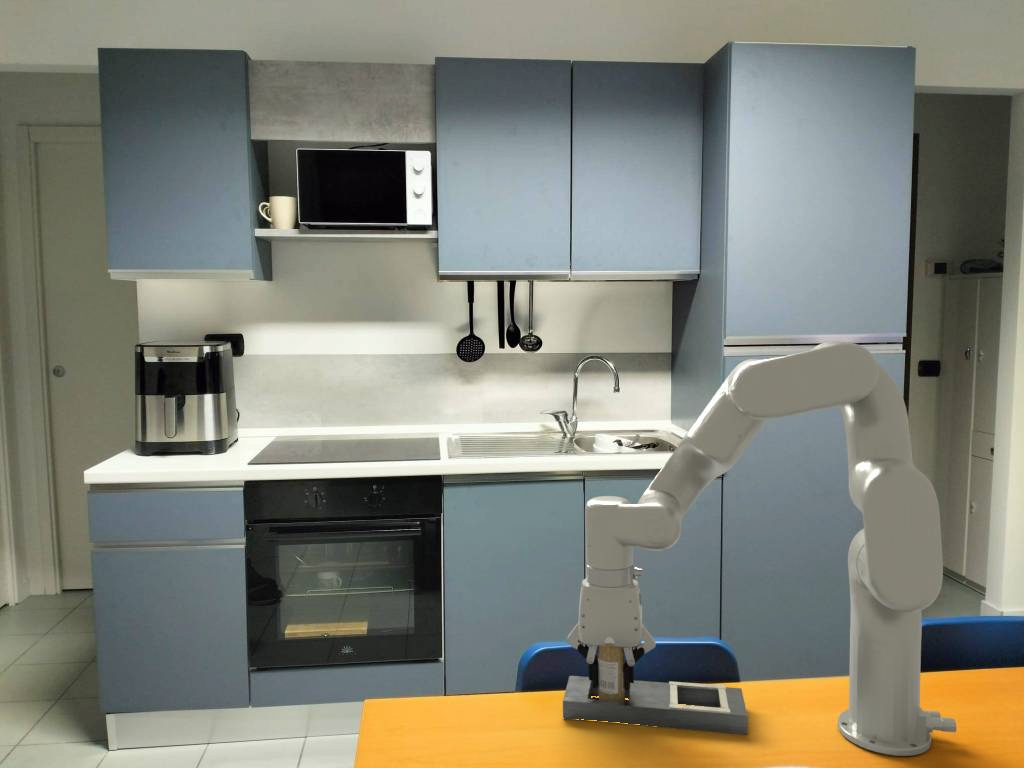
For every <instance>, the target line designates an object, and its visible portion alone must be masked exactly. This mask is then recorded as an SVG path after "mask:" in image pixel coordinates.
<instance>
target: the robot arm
mask: <svg viewBox="0 0 1024 768" xmlns="http://www.w3.org/2000/svg"><path fill="white" fill-rule="evenodd" d="M836 407H838V409H839V410H840V412H841V414H842V418H843V423H844V430H845V438H846V449H847V450H846V451H847V464H848V465H847V467H848V492H849V496H850V499H851V501H852V502H853V504H854V506H855V507H856V508H857V509H858V510H859V511H860V512H861V514H862V520H863V523H862V524H863V528H861V529H860V530H859V531H858V532H857V533H856V534H855V536H854V537H853V538H852V540H851V542H850V545H849V548H848V552H847V553H848V554H847V572H848V582H849V597H850V599H849V600H850V601H849V602H850V623H849V625H850V626H849V678H848V679H849V682H848V683H849V684H848V685H849V687H848V689H849V693H848V709H845V710H844V711H841V713H840V714H839V715H838V718H837V728H838V731H839V732H840V734H841V735H842V736H843V737H844V738H845V739H847V740H848V741H849V742H851V743H853V744H855V745H857V746H858V747H861V748H863V749H865V750H868V751H871V752H875V753H876V754H877V753H879V754H882V755H889V756H895V757H896V756H897V757H907V756H908V757H910V756H916V755H917V756H918V755H920V754H923V753H925V752H927V751H928V750H929V749H930V747H931V746H932V735H931V734H932V733H933V732H934V731H940V732H946V733H956V732H957V723H956V720H955V718H953V717H941V713H940V711H937V710H923V708H922V707H921V706H920V705H921V664H922V662H921V661H922V660H921V659H922V658H921V657H922V653H921V652H922V635H923V633H922V629H923V628H922V627H923V626H922V625H923V623H922V611H923V610H924V609H927V608H928V607H929V606H930V605H932V604H933V603H934V602H935V600H937V598H938V596H939V594H940V592H941V589H942V585H943V580H944V579H943V578H944V575H943V574H944V564H943V563H944V562H943V544H942V532H941V528H942V527H941V515H940V514H941V513H940V506H939V505H940V504H939V500H938V496H937V492H936V491H935V488H934V486H933V484H932V483H931V481H930V479H929V478H928V477H927V476H926V475H925V474H924V473H923V472H922V471H920V470H919V469H918V468H916V467H915V465H914V461H913V451H912V440H911V434H910V425H909V417H908V411H907V406H906V403H905V400H904V398H903V395H902V392H901V389H900V388H899V387H898V385H897V383H896V381H895V380H894V379H893V377H892V376H891V375H890V373H888V371H887V370H886V369H885V368H884V367H883V366H882V365H881V364H879V363H878V361H877V360H876V358H875V357H874V355H873V354H872V353H871V352H870V351H869V350H868V349H867V348H865V347H864V346H862V345H859V344H858V343H854V342H850V341H849V342H848V341H847V342H846V341H840V340H839V341H837V340H836V341H833V340H832V341H825V342H822V343H820V344H819V343H818V345H817V344H816V346H814V347H813V348H812V349H810V350H805V351H801V352H797V353H794V354H793V353H791V354H788V355H784V356H783V355H782V356H778V357H772V358H767V359H762V358H761V359H760V358H750V359H746V360H743V361H742V362H739V364H738V365H736V366H735V367H734V368H733V369H732V371H731V372H730V373H729V374H728V376H727V377H726V378H725V380H724V381H723V383H722V384H721V386H719V388H718V389H717V391H716V392H715V393H714V395H713V396H712V398H711V399H710V400H709V401H708V403H707V405H706V406H705V407H704V409H703V410H702V412H701V413H700V414H699V416H698V417H697V419H696V420H695V421H694V423H693V424H692V425H691V427H690V428H689V430H687V431H686V434H685V435H684V436H683V437H682V439H681V441H680V442H679V444H678V445H677V447H676V448H675V450H674V452H673V453H672V454H671V455H670V457H669V458H668V459H667V461H666V462H665V464H664V465H663V466H662V467H661V469H660V471H659V472H658V473H657V474H656V475H655V477H654V479H653V480H652V481H651V482H650V484H649V485H648V486H647V488H646V489H645V491H644V492H643V494H642V495H641V497H640V498H639V500H638V502H637V503H636V504H635V503H634V504H633V503H632V504H631V502H630V501H629V499H626V498H624V497H621V496H615V495H602V496H595V497H593V498H590V499H589V500H588V501H587V502H586V504H585V507H584V522H585V523H584V524H585V525H584V526H585V527H584V530H585V533H584V534H585V536H584V538H585V578H584V579H582V581H581V588H580V593H579V595H580V596H579V605H578V607H579V608H578V621H577V623H576V625H575V626H574V627H573V629H572V630H571V631H570V632H569V634H568V636H567V638H566V643H567V644H568V645H570V646H571V647H573V649H576V650H577V652H578V653H580V655H581V656H582V657H583V658H584V659H585V660H586V662H587V664H588V677H589V680H591V681H593V688H596V687H597V688H598V659H597V657H598V654H596V653H597V650H598V646H605V645H606V644H608V643H604V642H605V640H606V638H607V637H611V638H612V639H613V640H614V642H615V643H612V644H613V645H614V646H615V647H622V648H624V657H625V659H624V685H625V689H626V690H629V686H630V683H634V680H635V668H634V667H635V665H636V663H637V662H639V660H641V658H643V656H644V655H645V654H647V653H649V652H650V651H652V650H653V649H655V648H656V647H657V646H656V640H655V638H654V637H653V636H652V634H651V633H650V632H649V630H648V629H647V628H646V626H645V625H644V621H643V606H642V595H641V589H640V586H639V582H638V581H637V580H636V578H643V568H640V567H639V568H638V567H636V565H634V548H639V549H641V550H642V549H643V550H649V551H656V552H657V551H660V552H661V551H664V550H667V549H670V548H672V547H674V545H675V544H677V543H678V541H679V539H680V537H681V534H682V528H683V527H682V519H684V516H685V515H686V513H687V512H688V511H689V509H691V507H692V506H693V504H694V503H695V501H696V500H697V499H698V498H699V496H700V495H701V493H702V492H703V491H704V490H705V489H706V487H708V485H710V483H711V482H713V481H714V480H715V479H716V478H717V477H718V478H719V477H720V476H721V475H724V474H725V473H727V472H728V471H729V470H730V469H731V468H732V467H733V466H734V465H735V464H736V463H737V461H739V459H740V457H741V456H742V455H743V454H744V453H745V451H746V449H747V447H748V446H749V445H750V443H751V442H752V441H753V440H754V438H755V437H756V435H758V433H759V432H760V430H761V429H762V428H763V426H764V425H765V424H766V423H767V421H768V420H774V419H780V418H787V417H792V416H798V415H803V414H807V413H811V412H812V413H813V412H816V411H817V412H818V411H821V410H826V409H832V408H836ZM642 641H643V643H642Z"/></svg>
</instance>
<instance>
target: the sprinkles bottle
mask: <svg viewBox="0 0 1024 768" xmlns="http://www.w3.org/2000/svg"><path fill="white" fill-rule="evenodd" d="M604 643H608V644H606V645H605V646H597V659H598V688H599V699H598V700H608V701H620V702H626V701H625V685H624V664H625V652H624V648H622V647H615V646H614V645H613V644H612V643H615V642H614V640H613V639H612V638H611V637H607V638H606V640H605V642H604Z"/></svg>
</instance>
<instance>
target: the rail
mask: <svg viewBox="0 0 1024 768" xmlns="http://www.w3.org/2000/svg"><path fill="white" fill-rule="evenodd" d="M563 695H564V696H563V698H562V699H563V700H562V719H563V718H564V719H563V720H567V719H579V720H581V719H584V720H597V721H608V722H620V723H628V724H640V725H648V726H647V727H649V726H657V727H656V728H661V727H668V728H667V729H673V728H676V730H684V731H685V730H687V731H699V732H709V733H710V732H711V733H722V734H735V735H743V736H744V735H746V736H748V712H747V708H746V702H745V699H744V693H743V690H742V688H741V687H740V688H739V687H730V686H726V685H724V684H723V685H722V684H711V683H696V682H681V681H668V682H661V681H660V682H658V681H648V680H647V681H645V680H635V679H634V683H630V686H629V690H626V689H625V698H628V699H629V701H625V702H620V701H608V700H599V699H596V698H591V696H596V697H597V696H599V688H597V687H596V688H593V681H591V680H589V676H579V675H569V676H568V680H567V684H566V688H565V691H564V694H563ZM678 704H686V705H678ZM691 705H694V706H691ZM703 706H704V707H703ZM579 720H578V721H579Z"/></svg>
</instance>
